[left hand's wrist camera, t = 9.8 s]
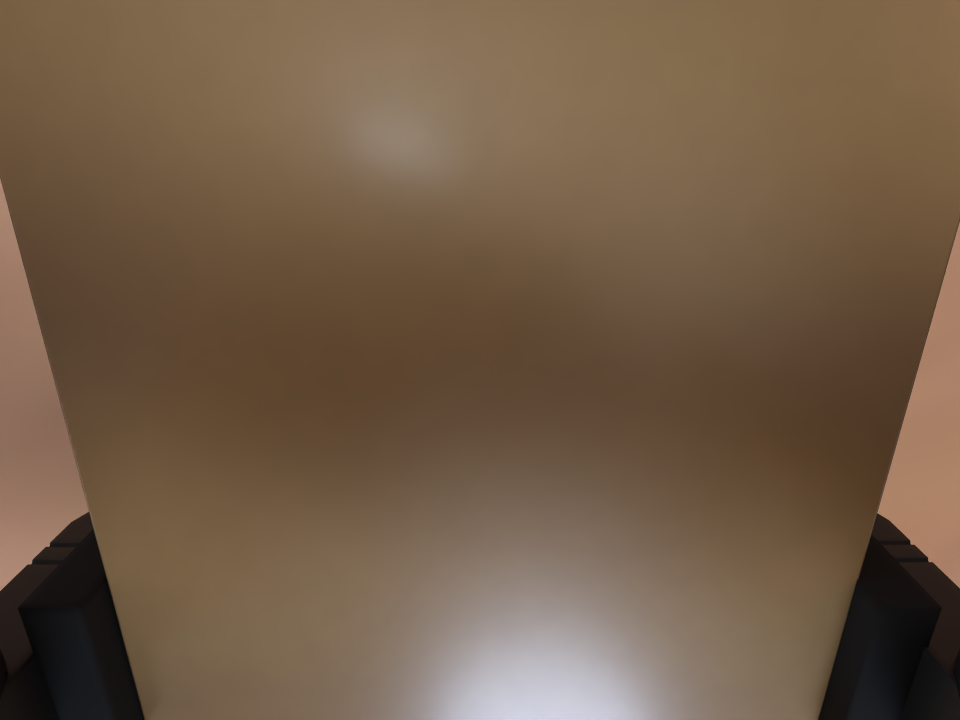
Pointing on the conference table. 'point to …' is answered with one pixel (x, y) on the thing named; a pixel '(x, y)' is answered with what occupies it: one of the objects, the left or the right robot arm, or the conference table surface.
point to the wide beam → (482, 337)
